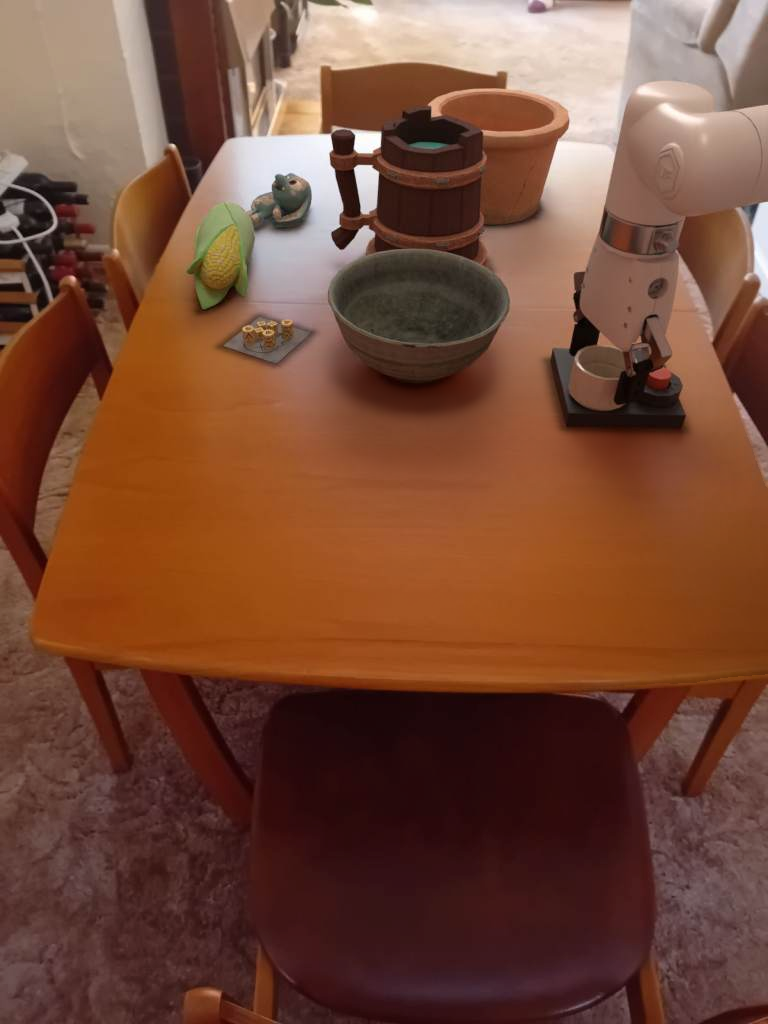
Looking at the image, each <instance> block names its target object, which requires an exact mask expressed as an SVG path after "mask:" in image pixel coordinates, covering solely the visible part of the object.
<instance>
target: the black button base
mask: <svg viewBox="0 0 768 1024" xmlns="http://www.w3.org/2000/svg"><path fill="white" fill-rule="evenodd" d="M569 350H570V347H569V348H567V347H566V348H563V347H562V348H561V347H560V348H559V347H553V348H552V349H551V355H550V359H549V361H550V365H551V370H552V374H553V378H554V382H555V386H556V391H557V395H558V399H559V403H560V407H561V412H562V415H563V420H564V424H565V427H571V428H572V427H573V428H574V427H575V428H579V427H580V428H581V427H582V428H623V429H624V428H626V429H627V428H628V429H629V428H631V429H638V428H639V429H677V430H679V429H682V428H683V425H684V423H685V420H686V418H687V413H686V411H685V409H684V407H683V404H682V401H681V400H680V396H681V393H682V390H683V387H684V385H683V382H682V380H681V378H680V377H679V376H678V375H676V374H675V373H674V372H672V371H670V372H671V379H670V382H669V385H668V387H667V388H666V389H664V390H657V389H653V388H650V387H648V386H647V385H646V386H645V390H644V393H643V397H642V399H641V400H639V401H635V402H631V403H626V404H625V405H623V406H622V407H620V408H616V409H614V410H609V411H598V410H593V409H589V408H587V407H584V406H582V405H581V404H579V403H578V402H577V401H576V400H575V399H574V398H573V397H572V396H571V395H570V392H569V387H568V386H569V381H570V377H571V372H572V367H573V363H574V358H575V356H571V354H570V353H569ZM634 355H635V359H636V360H637V363H638V362H640V361H643V356H642V350H641V349H638V350H634ZM663 367H664V368H666V369H667V366H666V363H665V364H664V365H663Z"/></svg>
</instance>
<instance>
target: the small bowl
mask: <svg viewBox="0 0 768 1024" xmlns="http://www.w3.org/2000/svg"><path fill="white" fill-rule="evenodd" d="M635 361H636V363H637V360H636V359H635ZM622 371H626V368H625V362H624V357H623V351H622V350H620V349H619V348H617V347H616V346H614V345H609V344H597V345H592V346H587V347H584V348H583V349H581V350H579V351H578V352H577V354H576V356H575V358H574V363H573V367H572V372H571V377H570V381H569V386H568V387H569V392H570V395H571V396H572V397H573V398H574V399H575V400H576V401H577V402H578V403H579V404H581V405H582V406H584V407H587V408H589V409H593V410H598V411H609V410H614V409H616V408H620V407H622V406H623V405H625V404H621V405H617V404H616V403H615V402H614V396H615V393H616V389H617V385H618V381H619V377H620V374H621V372H622Z"/></svg>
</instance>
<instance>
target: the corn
mask: <svg viewBox="0 0 768 1024" xmlns="http://www.w3.org/2000/svg"><path fill="white" fill-rule="evenodd" d="M254 229H255V228H254V224H253V223H252V220H251V218H250V216H249V215H248V214H247V211H246V210H245V209H244V208H243V207H242V206H240V205H239V204H237V203H233V202H229V201H223V202H220V203H218V204H216V205H214V206H212V208H210V210H209V211H208V212H207V214H206V215H205V216H204V217H203V219H202V221H201V222H200V223H199V225H198V227H197V229H196V232H195V238H194V257H193V258H194V259H193V262H192V263H190V265H189V266H188V268H187V269H186V273H187V274H188V275H193V278H194V279H193V280H194V287H195V291H196V295H197V298H198V301H199V304H200V307H201V310H202V311H204V310H208V309H210V308H213V307H214V306H217V304H219V303H220V302H222V301H223V299H224V298H225V297H226V296H227V294H228V292H229V290H230V289H231V288H233V286H234V289H235V290H236V292H237V293H239V294H240V295H241V296H242V297H244V296H246V293H247V290H248V287H249V286H248V285H249V278H248V267H247V266H248V264H249V262H250V261H251V259H252V255H253V251H254V247H255V242H256V235H255V230H254Z"/></svg>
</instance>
